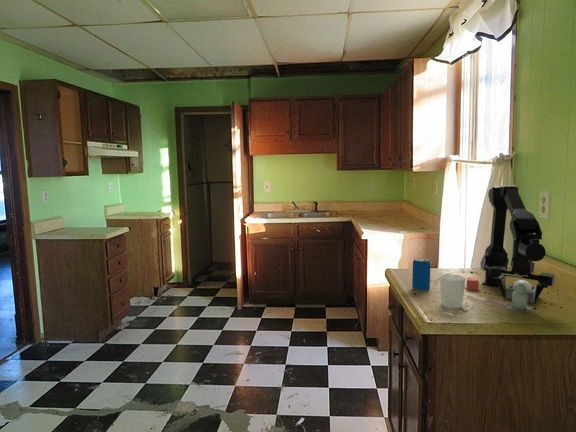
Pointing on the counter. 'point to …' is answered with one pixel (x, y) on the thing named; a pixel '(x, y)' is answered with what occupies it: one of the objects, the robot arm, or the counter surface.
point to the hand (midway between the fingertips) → (519, 300)
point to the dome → (523, 282)
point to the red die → (472, 283)
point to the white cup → (452, 290)
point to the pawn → (519, 297)
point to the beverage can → (421, 274)
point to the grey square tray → (530, 294)
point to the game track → (493, 303)
